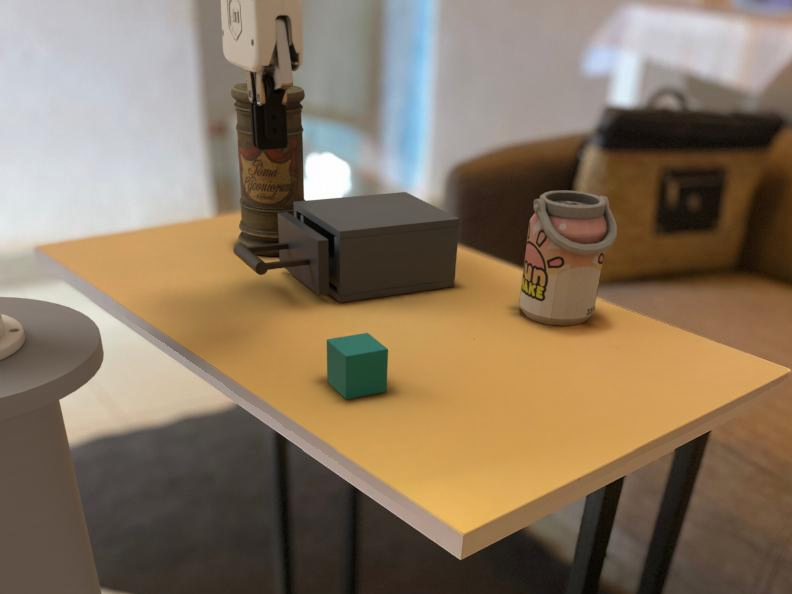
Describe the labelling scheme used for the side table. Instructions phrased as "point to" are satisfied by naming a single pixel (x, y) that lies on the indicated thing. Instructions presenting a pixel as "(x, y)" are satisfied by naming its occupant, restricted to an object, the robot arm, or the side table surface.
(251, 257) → the tray
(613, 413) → the side table surface
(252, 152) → the container
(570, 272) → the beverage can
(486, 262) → the side table surface
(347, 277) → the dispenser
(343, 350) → the block
